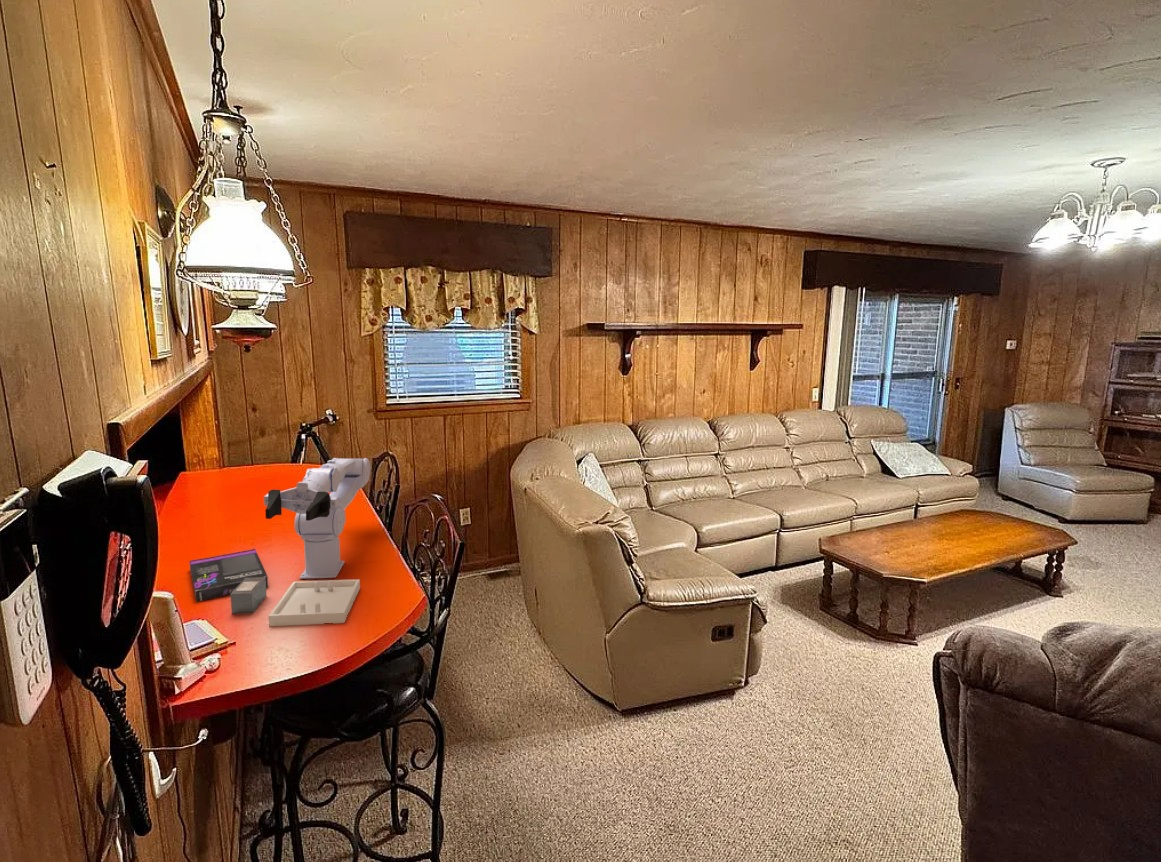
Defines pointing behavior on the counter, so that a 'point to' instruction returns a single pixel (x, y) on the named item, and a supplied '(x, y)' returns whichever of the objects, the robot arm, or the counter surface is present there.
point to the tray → (315, 603)
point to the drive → (248, 595)
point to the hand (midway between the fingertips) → (287, 515)
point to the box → (224, 573)
